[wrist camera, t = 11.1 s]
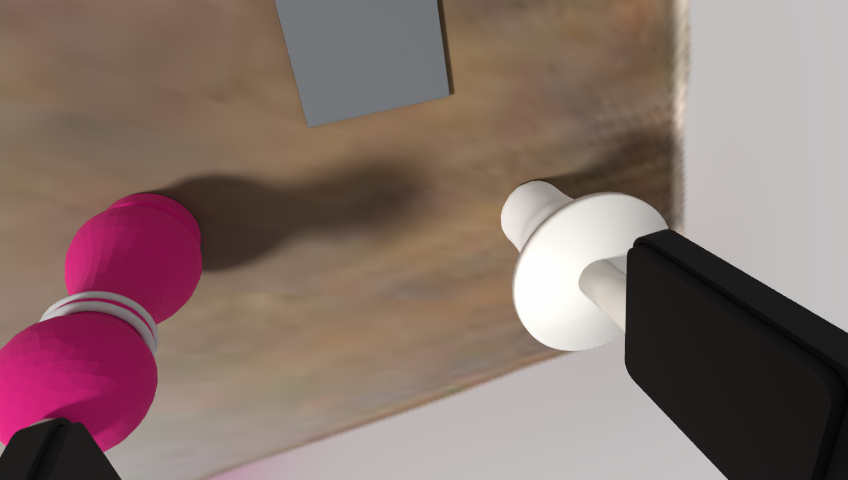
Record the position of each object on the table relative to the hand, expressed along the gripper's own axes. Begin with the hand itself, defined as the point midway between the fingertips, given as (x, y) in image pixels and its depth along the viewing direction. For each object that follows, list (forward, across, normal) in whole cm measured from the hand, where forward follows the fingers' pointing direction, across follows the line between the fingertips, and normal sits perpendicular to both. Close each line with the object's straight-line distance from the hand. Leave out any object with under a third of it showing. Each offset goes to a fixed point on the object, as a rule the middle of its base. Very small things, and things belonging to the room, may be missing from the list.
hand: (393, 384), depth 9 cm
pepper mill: (+29, +12, +7) cm, 32 cm away
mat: (+29, -5, -4) cm, 30 cm away
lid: (+19, -15, +13) cm, 27 cm away
